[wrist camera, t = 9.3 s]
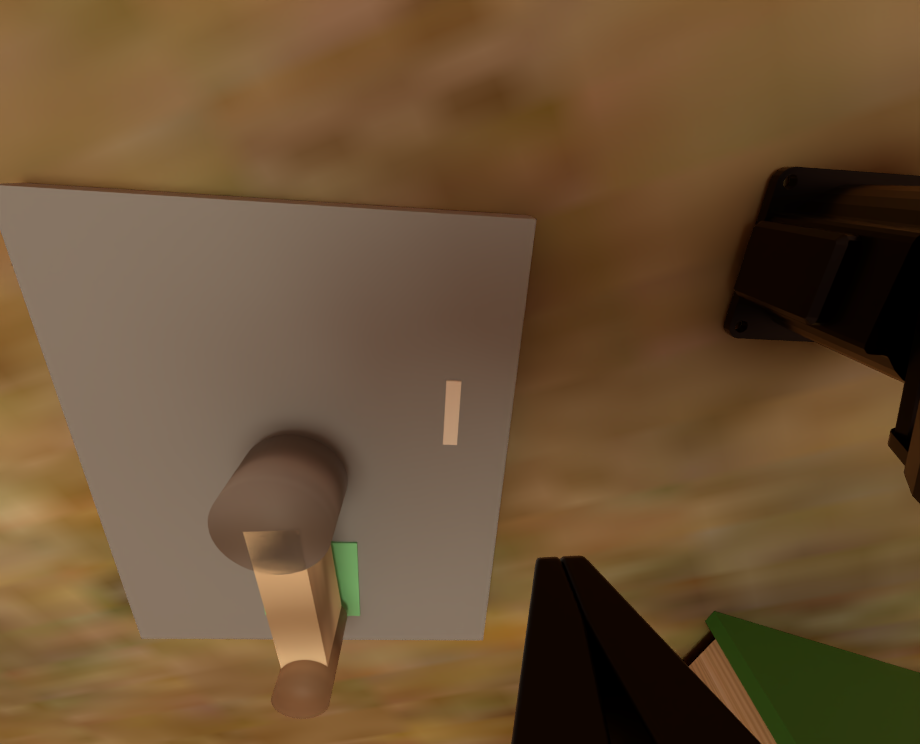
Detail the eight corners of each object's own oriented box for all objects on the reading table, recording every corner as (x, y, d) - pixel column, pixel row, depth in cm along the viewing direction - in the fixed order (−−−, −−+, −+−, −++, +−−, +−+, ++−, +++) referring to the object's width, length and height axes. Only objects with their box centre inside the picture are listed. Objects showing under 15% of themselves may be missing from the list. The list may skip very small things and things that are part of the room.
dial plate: (528, 215, 17) (536, 219, 15) (480, 615, 26) (482, 641, 24) (24, 183, 16) (-19, 184, 14) (157, 612, 25) (140, 640, 23)
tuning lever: (231, 436, 18) (177, 504, 14) (341, 433, 18) (315, 499, 14) (283, 633, 23) (253, 721, 19) (369, 629, 23) (355, 716, 19)
